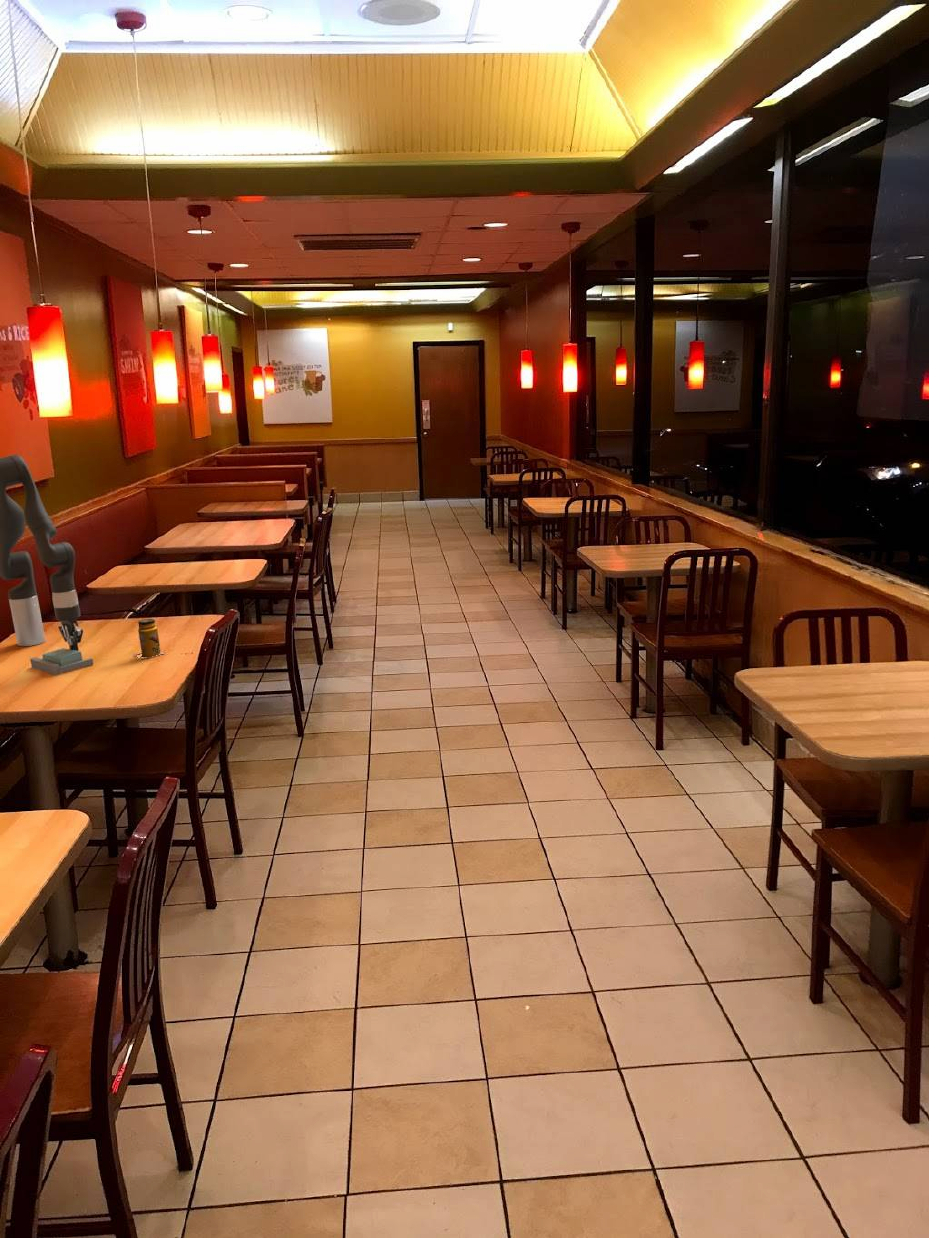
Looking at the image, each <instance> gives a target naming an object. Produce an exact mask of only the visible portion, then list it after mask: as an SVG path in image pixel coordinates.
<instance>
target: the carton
mask: <svg viewBox="0 0 929 1238" xmlns="http://www.w3.org/2000/svg"><path fill="white" fill-rule="evenodd" d="M41 656H42V658H43V660H46V661H49V662H52V663H55V664H58V665H59V667H60V666H63V665H67V664H71V663H74V662H78V661H82V660H83V655H82V651H81V650H79V651H76V650H71V649H70V648H63V647H62V648H59V649H55V650H52V651H48V652H46V653H42V655H41Z"/></svg>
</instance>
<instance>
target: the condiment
mask: <svg viewBox="0 0 929 1238" xmlns="http://www.w3.org/2000/svg"><path fill="white" fill-rule="evenodd" d="M137 624H138V630H137V631H138V638H139V644H140V645H139V646H140V649H141V653H135V654H133V656H134V658H136V657H137V655H140V654H142V656H141V657H144V658H141V657H140V658H138V657H137V658H136V659H137V660H139V661H140V660H145V657H148V658H153V657H152V656H155V657H157V656H156V655H159V654H164V653H163V652H162V651H161V643H160V638H159V631H158V627H157V626H156V620H155V619H154V618H143V619H140V620H139V621H138V623H137ZM148 658H147V659H148Z"/></svg>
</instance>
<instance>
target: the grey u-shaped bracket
mask: <svg viewBox="0 0 929 1238" xmlns="http://www.w3.org/2000/svg"><path fill="white" fill-rule="evenodd" d="M29 660H30V664H31V665H30V666H31V668H32V667H33V668H32V669H35V670H38V671H41V672H43V673H47V674H49V673H50V674H49V675H53V676H57V675H60V673H62V674H64V673H65V674H66V673H69V672H71V671H76V670H79V668H80V669H84V668H86V667H90V666H94V665H93V664H94V659H93V658H92V657H89V658H86V659H82V661H78V662H74V663H71V664H67V665H63V666H60V667H59V665H58V664H55V663H52V662H49V661H46V660H43V657H42V658H41V657H37V656H35V657H30V658H29Z"/></svg>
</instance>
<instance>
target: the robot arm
mask: <svg viewBox="0 0 929 1238" xmlns="http://www.w3.org/2000/svg"><path fill="white" fill-rule="evenodd" d="M17 485H22V486H23V489H24V492H25V504H24V509H23V508H22V506H21V505H19V504H18V503H17V502H16V501H15V500H13V499H12V498H11V497H10V496H9V494H8V493H7V489H8V488H10V487H13V486H17ZM26 525H27V527H28V529H29V531H30V532H31V534H32V536H33V538H34V541H35V545H36V548H37V549H36V550H37V553H38V558H39V560H40V562H41V564H43V565H44V566H45V567H47V568H54V567H58V566H59V567H58V570H57V571H56V572H53V573H52V574H51V575H50V577H49V583H50V588H51V595H52V597H51V598H52V604H53V609H54V616H55V619H56V620H57V621H59V622H60V624H61V625H58V631H59V632H60V634H61V637H62V638H63V640H64V642H65V643H67V645H68V649H71V650H76V651H80V649H79V645H78V644H80V643H81V642H82V638H83V634H84V630H83V628H80V627H79V623H78V618H80V617H81V609H80V605H79V604H80V603H79V599H78V598H79V596H78V593H77V590H76V587H75V581H74V574H75V573H74V571H75V564H76V553H75V549H74V547H73V546H72V545H71V543H69V542H67V541H62V542H57V543H51V542H50V540H52V539H55V538H56V536H57V534H58V531H57V528H56V527H55V525H54V522H53V521H52V519H51V517H50V516H49V514H48V512H47V511H46V508H45V505H44V503H43V501H42V499H41V495H40V493H39V491H38V488H37V485H36V483H35V481H34V478H33V476H32V474H31V471H30V468H29V466H28V464H27V462H26V461H25V460H24V458H23V456H20V455H18V454H13V455H7V456H4V457H0V578H1V579H3V580H5V581H10V580H11V581H12V580H17V579H23V580H21V582H20V583H19V584H18V585H16V586H14V587H12V588H10V589H9V590H8V591H7V597H8V601H9V607H10V611H11V617H12V623H13V627H14V628H13V629H14V632H15V638H16V644H17V646H19V647H30V646H36V645H39V644H43V643H45V642H46V637H45V631H44V625H43V621H42V620H43V619H42V615H41V609H40V603H39V599H38V598H39V597H38V593H37V588H36V583H35V582H36V581H35V577H34V568H33V561H32V557H31V554H30V553H29V552H28V551H25V550H24V551H22V550H21V551H16V552H12V550H13V548H14V547H15V546H16V544H17V543H19V540H20V539H21V538H22V537H23V535H24V534H25V531H26Z"/></svg>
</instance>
